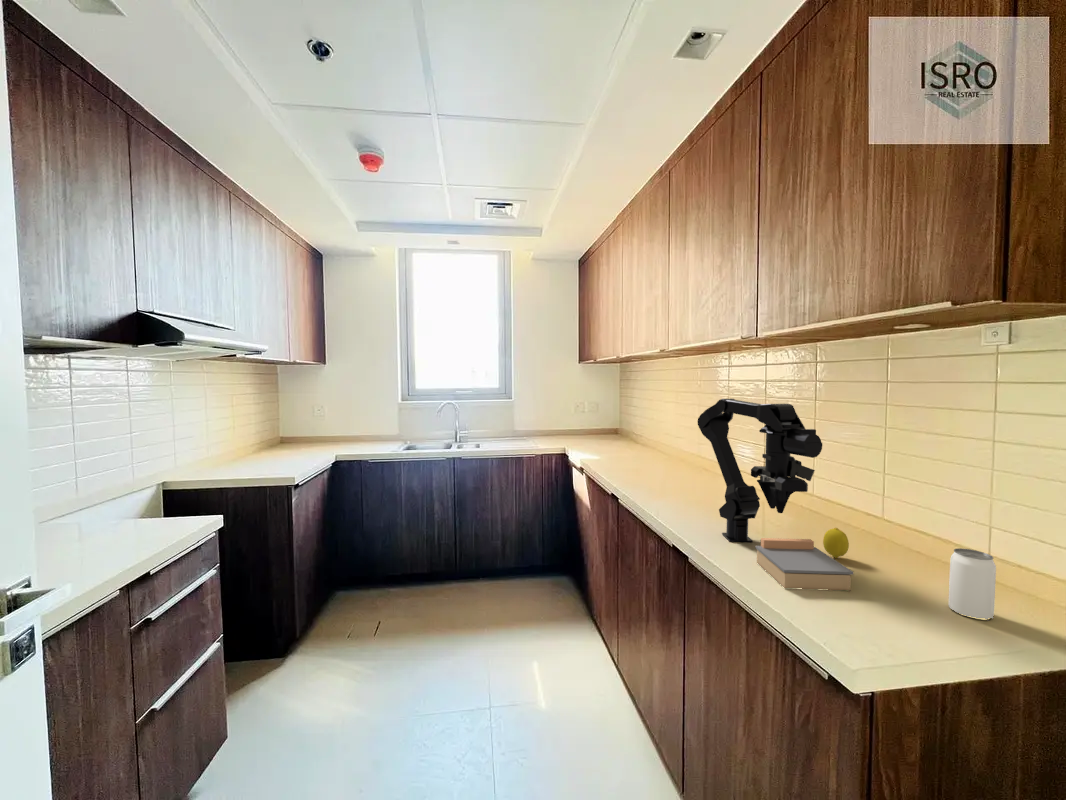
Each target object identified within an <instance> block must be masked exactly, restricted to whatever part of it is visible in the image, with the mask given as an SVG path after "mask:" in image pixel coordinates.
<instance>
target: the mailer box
mask: <svg viewBox="0 0 1066 800" xmlns="http://www.w3.org/2000/svg"><path fill="white" fill-rule="evenodd" d="M757 563H758V564H759V565H760V566H761V567H762V568H763V569H762V568H761V567H760V566H759V565H758V564H757ZM756 564H757V565H758V566H759V567H760V568H761V569H762V570H763V571H765V570H766V571H765V572H766V573H767V572H768V573H769V574H770V575H771V576H772V577H773V578H774V579H775V580H776V581H777V582H776V581H775V580H774V579H773V578H772V577H771V576H770V575H769V574H768V573H767V574H768V575H769V576H770V577H771V578H772V579H773V580H774V581H775V582H776V583H777V584H778V585H780V584H781V585H782V586H783V587H784V588H802V589H828V590H827V591H833V590H849V591H848V592H851V587H852V585H851V584H852V581H851V579H852V575H848V574H815V573H784V572H783V571H782V570H781V569H779V568H778V567H777V566H776V565H775V564H774V563H772V562H771V561H770V560H769V559H768V558H767V557H765V556H764V555H763V554H762V553H761V552H760V551H758V550H757V549H756ZM781 585H780V586H781ZM782 586H781V587H782ZM783 587H782V588H783ZM784 588H783V589H784ZM802 589H801V590H802Z"/></svg>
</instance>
